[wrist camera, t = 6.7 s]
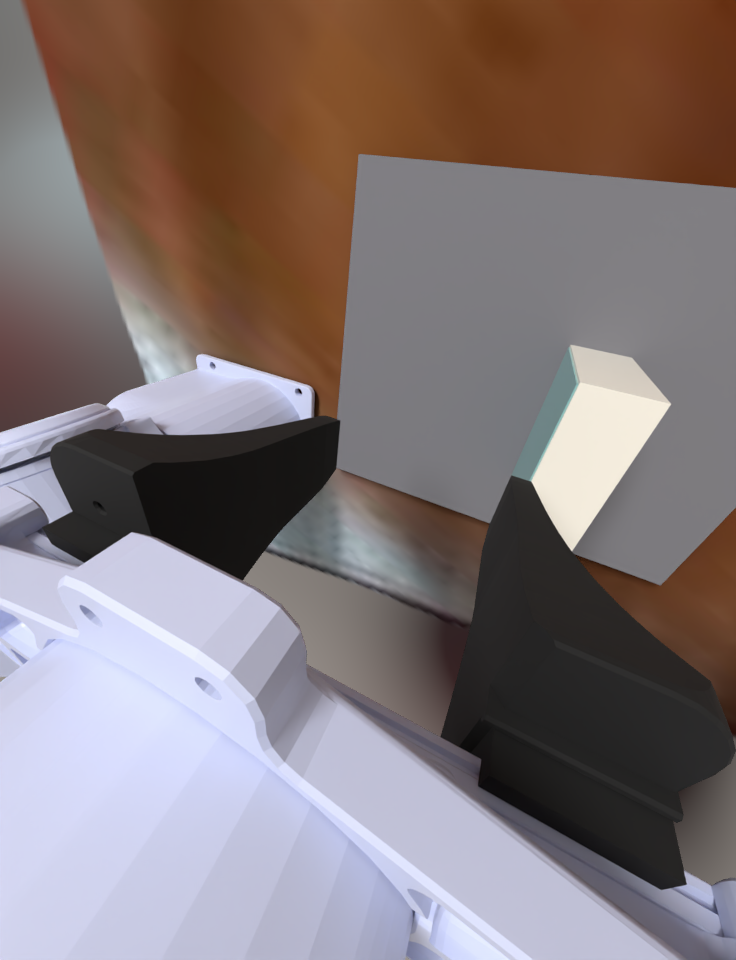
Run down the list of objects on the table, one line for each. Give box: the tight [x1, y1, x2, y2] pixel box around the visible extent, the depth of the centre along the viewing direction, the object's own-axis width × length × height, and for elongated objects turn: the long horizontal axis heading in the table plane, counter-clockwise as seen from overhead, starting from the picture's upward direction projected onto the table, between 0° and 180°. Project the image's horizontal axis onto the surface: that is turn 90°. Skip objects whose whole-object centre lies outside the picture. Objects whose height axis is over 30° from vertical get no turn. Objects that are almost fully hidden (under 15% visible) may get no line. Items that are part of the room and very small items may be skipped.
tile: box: [512, 345, 671, 551], centre depth 14 cm, size 2×7×6 cm, turn 172°
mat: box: [336, 154, 736, 585], centre depth 17 cm, size 20×16×1 cm
